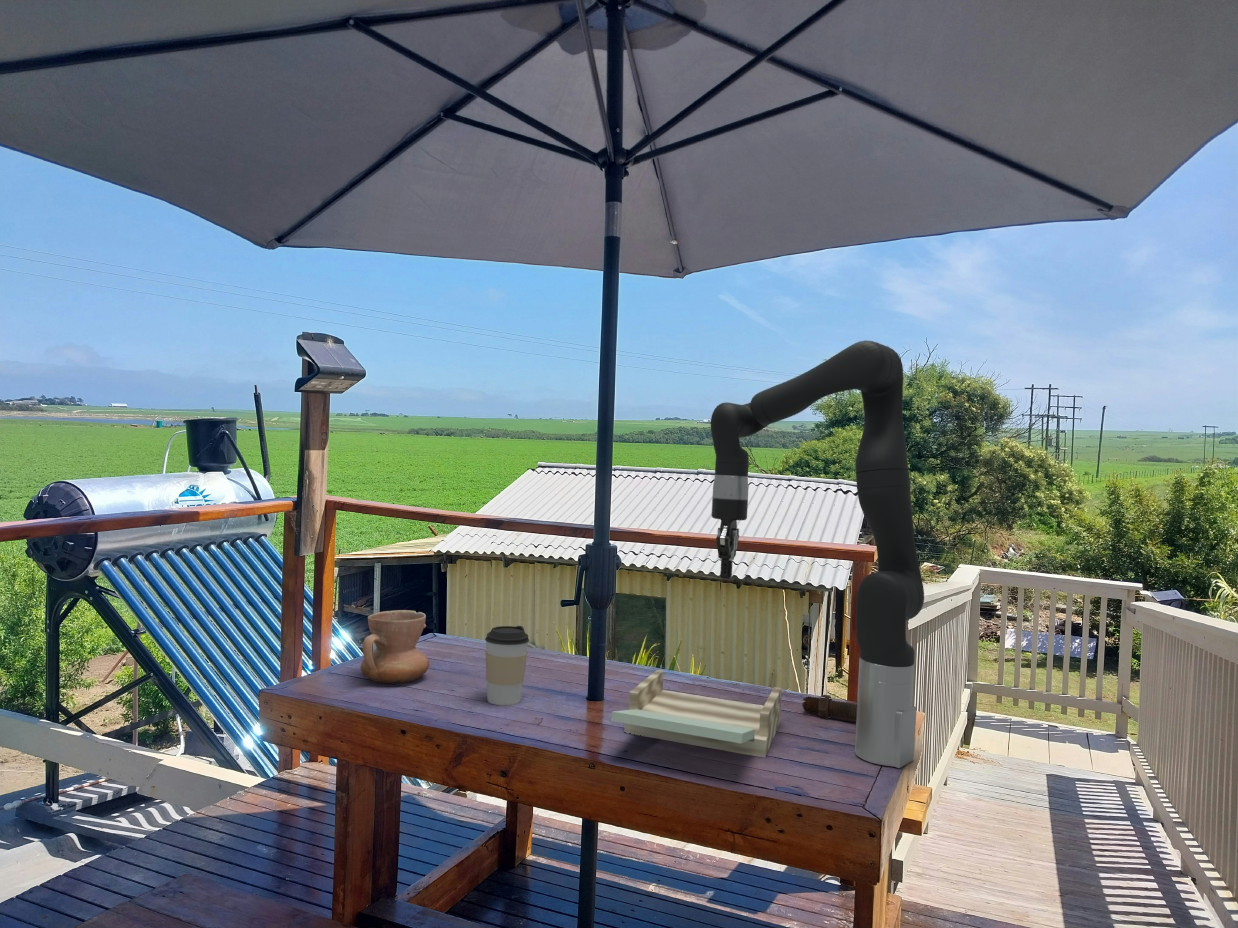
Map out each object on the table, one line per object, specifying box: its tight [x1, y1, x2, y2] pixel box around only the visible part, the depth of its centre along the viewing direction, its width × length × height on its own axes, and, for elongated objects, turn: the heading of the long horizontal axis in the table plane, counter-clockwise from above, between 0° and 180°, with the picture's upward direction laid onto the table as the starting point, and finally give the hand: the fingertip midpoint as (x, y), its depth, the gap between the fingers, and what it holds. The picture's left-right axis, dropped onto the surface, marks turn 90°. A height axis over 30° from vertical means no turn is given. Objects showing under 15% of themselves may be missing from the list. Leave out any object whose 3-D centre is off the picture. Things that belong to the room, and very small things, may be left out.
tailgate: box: [610, 709, 755, 744], centre depth 128 cm, size 2×22×14 cm
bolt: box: [801, 694, 857, 721], centre depth 153 cm, size 6×5×15 cm
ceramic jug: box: [360, 609, 430, 684], centre depth 164 cm, size 18×14×14 cm
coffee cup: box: [484, 625, 530, 706], centre depth 154 cm, size 9×9×15 cm
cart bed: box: [623, 669, 783, 759], centre depth 143 cm, size 20×26×7 cm
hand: (726, 578), depth 159 cm, fingers closed
